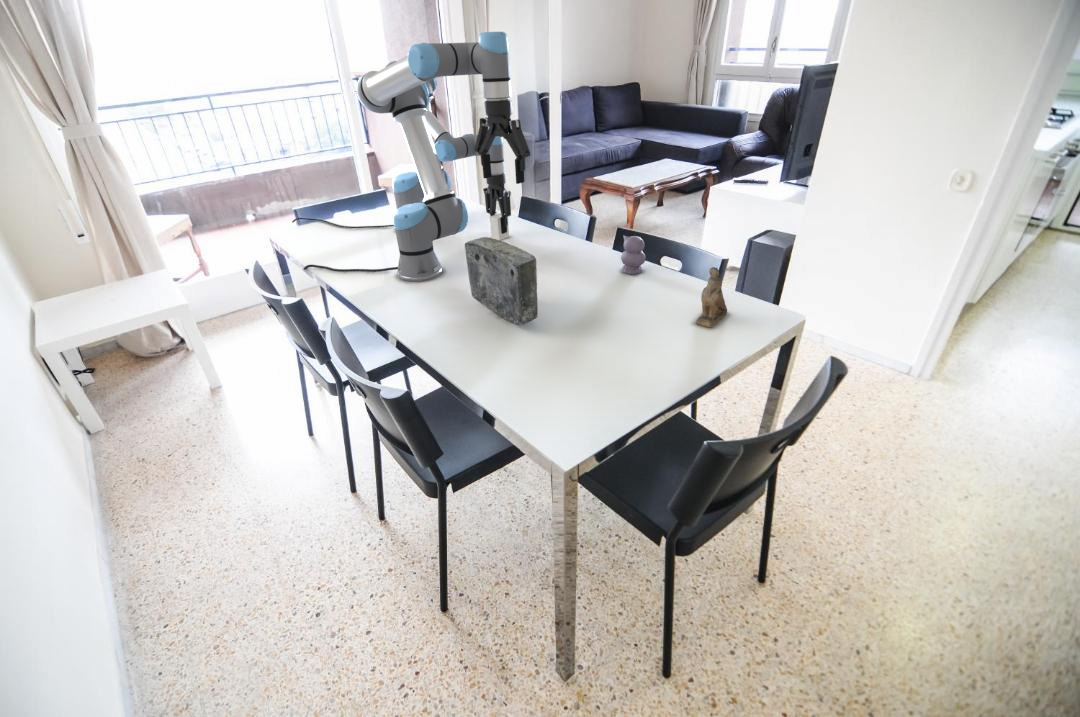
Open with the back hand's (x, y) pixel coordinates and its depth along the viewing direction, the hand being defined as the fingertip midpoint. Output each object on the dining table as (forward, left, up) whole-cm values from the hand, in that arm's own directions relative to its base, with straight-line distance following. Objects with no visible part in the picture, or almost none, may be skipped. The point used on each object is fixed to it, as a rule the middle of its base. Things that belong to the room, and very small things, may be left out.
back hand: (499, 231), depth 207 cm
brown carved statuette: (+90, -50, -3) cm, 103 cm away
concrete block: (+33, -66, -3) cm, 74 cm away
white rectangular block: (0, 0, -3) cm, 3 cm away
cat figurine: (+61, -22, -3) cm, 64 cm away
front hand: (+25, -46, +31) cm, 61 cm away
